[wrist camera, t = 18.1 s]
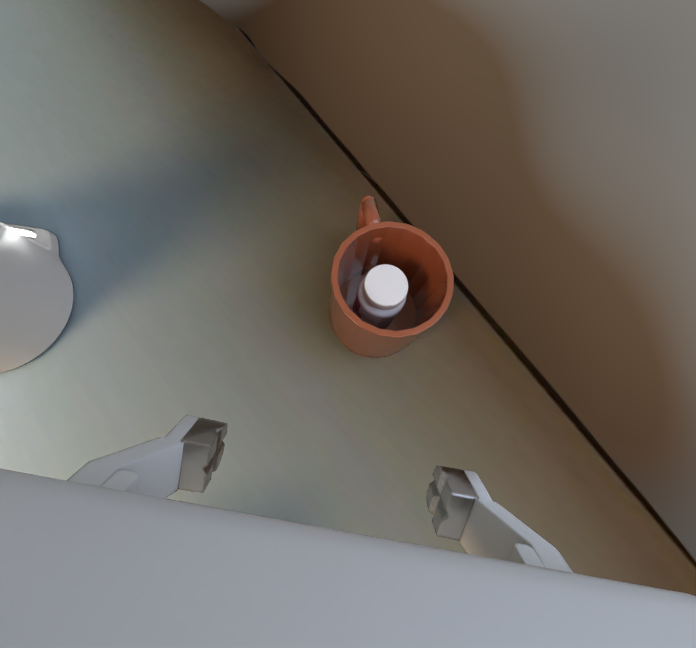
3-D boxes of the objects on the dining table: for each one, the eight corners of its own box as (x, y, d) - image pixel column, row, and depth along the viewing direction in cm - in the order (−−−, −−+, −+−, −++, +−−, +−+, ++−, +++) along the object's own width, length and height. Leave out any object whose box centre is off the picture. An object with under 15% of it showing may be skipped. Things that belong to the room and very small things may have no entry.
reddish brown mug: (428, 348, 38) (468, 324, 27) (339, 365, 37) (344, 347, 26) (398, 235, 41) (424, 174, 31) (316, 247, 40) (313, 188, 29)
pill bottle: (344, 304, 38) (349, 275, 30) (379, 284, 39) (393, 250, 30) (367, 339, 37) (379, 319, 29) (402, 317, 38) (423, 292, 30)
